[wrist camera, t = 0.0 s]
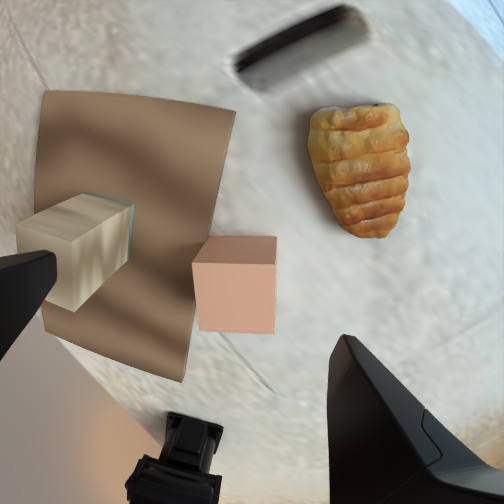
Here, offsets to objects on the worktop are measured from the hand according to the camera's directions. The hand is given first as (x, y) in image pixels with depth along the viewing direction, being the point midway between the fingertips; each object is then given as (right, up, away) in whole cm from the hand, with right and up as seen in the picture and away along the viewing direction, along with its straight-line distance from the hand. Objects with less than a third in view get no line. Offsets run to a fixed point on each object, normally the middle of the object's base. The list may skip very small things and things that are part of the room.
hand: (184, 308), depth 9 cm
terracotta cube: (+1, 0, +16) cm, 16 cm away
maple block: (-9, +4, +14) cm, 17 cm away
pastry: (+9, +8, +12) cm, 17 cm away
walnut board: (-10, +2, +16) cm, 19 cm away
